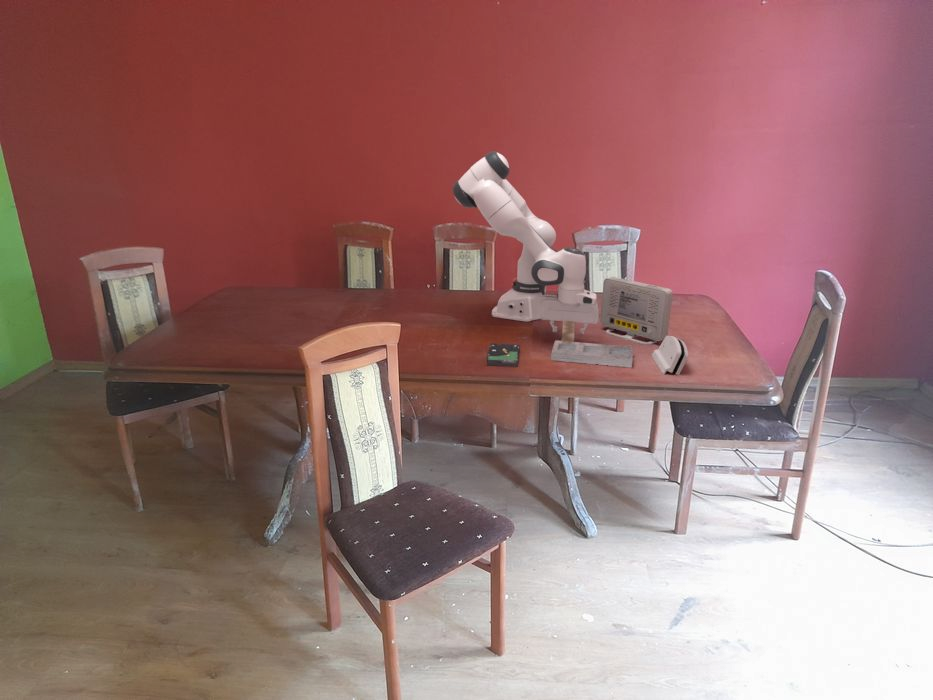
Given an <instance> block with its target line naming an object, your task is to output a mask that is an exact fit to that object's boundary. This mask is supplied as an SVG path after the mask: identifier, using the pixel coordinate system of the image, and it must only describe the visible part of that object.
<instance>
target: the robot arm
mask: <svg viewBox="0 0 933 700" xmlns="http://www.w3.org/2000/svg"><path fill="white" fill-rule="evenodd" d="M510 170H511V168H510V166H509V162H508V160H507V158H506V157H505V156H504V155H503V154H501V153H499V152H498V151H495V150H494V151H493V150H492V151H489V152H487V153H485V155H484V157H481V158H480V159H479V160H478V161H476V162H475V163H474V164H473V165H471V166H470V168H469V169H468V170H467V171H466V172H465V173H464V174H463V175H462V176H461V177H460V179H458V180H456V182H455V183H454V184H453V186H452V194H453V196H454V198H455V200H456V201H457V203H459V205H461V206H462V207H464V208H468V209H471V208H475V209H477V208H478V211H480V213H481V215H482V216H483V218H484V219H485V220H486V222H487V223H488V224H489V226H491V228H492V229H493V230H494V231H495V232H497V233H498V234H499V235H500V236H503V237H504V236H506V237H510V238H514V239H516V240H517V241H518V242H520V243H522V245H523V246H522V251H521V254H520V255H521V256H520V257H519V259H518V260H517V272H516V273H517V275H516V277H514V278H513V279H512V281H511V289H509V290H508V291H507V292H505V293H503V294H502V295H501V296H500V298H499V299H498V301H497V305H496V306H494V307H493V309H491V316H492V317H494V318H500V319H507V320H514V321H521V322H527V323H528V322H531V321H535V320H542V321H549V324H550V326H551V328H552V333H558V326H557V325H555V322H563V321H569V322H575V323H581V324H583V327H582V328H580V327H579V328H580V329H579V335H585V331H586V329H587V328H588V327H589V324H592V325H593V324H594V325H595V324H597V323H599V321H600V309H599V308H600V307H599V303H598V302H597V299H598V296H597V294H596V293H595V292H592V291H589V290H587V289H585V282H584V281H585V278H586V272H587V260H586V255H585V253H584V251H582V250H580V249H579V248H576V247H569V246H568V247H563V248H562V249H561V250H556V249H555V248H553V247H552V246H553V245H554V244H555V242H556V240H557V234H556V233H557V232H556V231H555V230H556V229H555V228H554V227H553V226H552V225H551V224H550V223H549V222H548V221H546V220H544V219H541V218H539V217H538V216H536V215H535V214H534V213H533V212H532V210H531V209H530V208H529V206H528V204H527V202H526V200H525V199H524V197H523V196H522V195H520V193H519V192H518V191H517V190H516V188H515V187H514V186H513V185H512V184H511V183H510V182H509V180H507V177H508V176H509V174H510ZM556 285H557V287H558V288H557V293H551V294H550V293H547V286H548V287H549V286H556Z"/></svg>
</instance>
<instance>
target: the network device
mask: <svg viewBox="0 0 933 700" xmlns="http://www.w3.org/2000/svg"><path fill="white" fill-rule="evenodd" d="M673 297H674V292H673V290H672V289H671V288H667V287H662V286H657V285H655V284H654V285H653V284H649V283H644V282H639V281H635V280H629V279H625V278H620V277H616V276H611V277H607V278H604V280H603V287H602V297H601V308H600V317H599V321H600V324H601V325H602V326H604V327H607V329H606V330H605V334H607V333H608V334H610V335H609V336H611V335H614V336H613V337H615V336H616V337H615V338H618V337H619V338H618V339H622V338H623V339H622V340H626V341H629V340H630V342H632V341H633V343H635V342H636V344H639V343H640V345H642V344H644V345H643V346H651V344H652V345H654V344H656V343H658V342H661V341H663V340H664V339H665V337H666V336H669V335H668V334H669V327H670V319H671V312H672V304H673ZM614 329H616V330H619V331H621V332H624V333H625V332H626V334H625V335H620V334H617V333H613V331H615V330H614ZM612 330H613V331H612ZM609 331H611V332H609ZM608 334H607V335H608ZM637 337H643V338H645V339H646V338H647V339H650V341H647V342H646V341H641V340H637V339H635V338H637ZM632 338H633V339H632ZM657 341H658V342H657Z"/></svg>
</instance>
